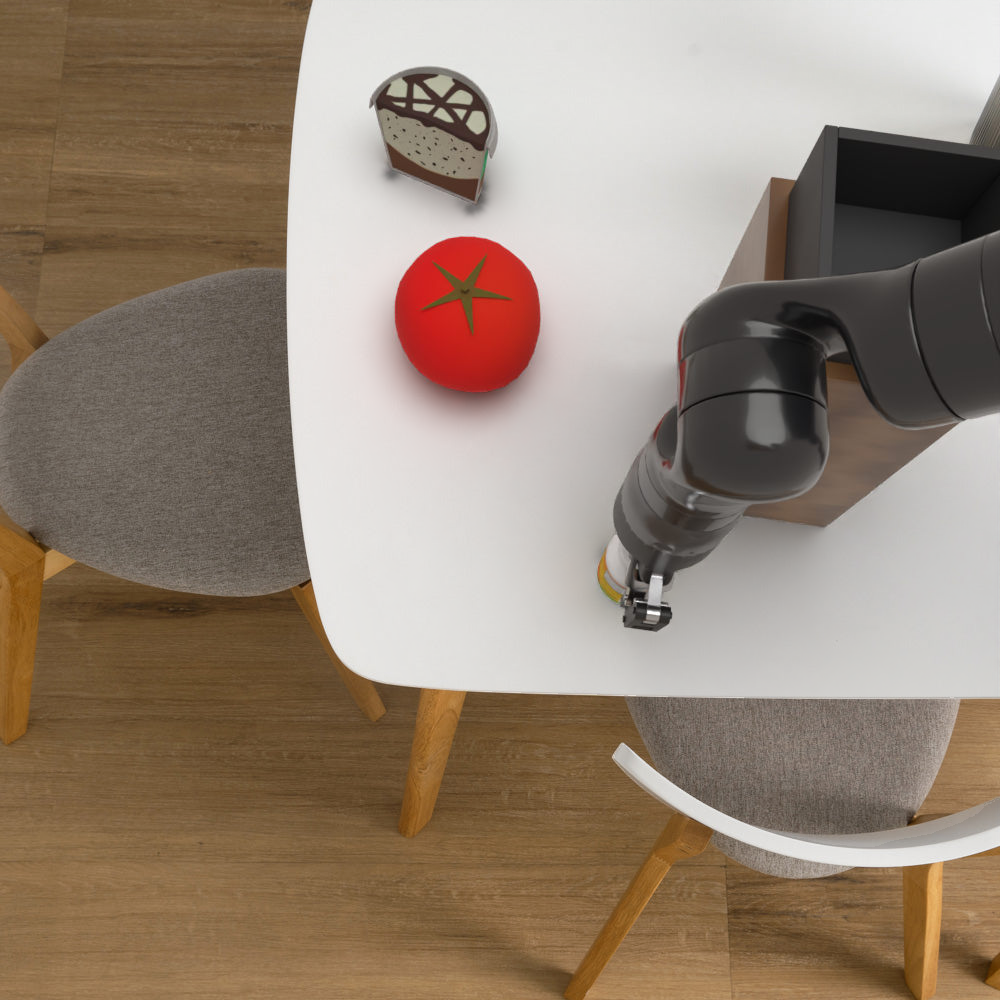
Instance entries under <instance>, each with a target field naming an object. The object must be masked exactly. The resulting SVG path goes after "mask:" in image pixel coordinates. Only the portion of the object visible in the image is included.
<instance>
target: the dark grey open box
mask: <svg viewBox="0 0 1000 1000" xmlns="http://www.w3.org/2000/svg"><path fill="white" fill-rule="evenodd" d="M795 180H796V182H795V184H794V186H793V188H792V190H791V192H790V194H789V203H788V219H787V235H786V251H785V268H784V280H789V279H803V278H815V277H823V276H831V275H840V274H849V273H857V272H866V271H874V270H881V269H887V268H892V267H896V266H900V265H903V264H906V263H909V262H911V261H914V260H916V259H919V258H924V257H925V256H928V255H930V254H933V253H936V252H939V251H942V250H944V249H947V248H950V247H953V246H956V245H959V244H961V243H964V242H967V241H970V240H973V239H976V238H978V237H981V236H984V235H987V234H991V233H993V232H995V231H998V230H1000V148H999V147H991V146H985V145H976V144H970V143H963V142H955V141H949V140H948V141H947V140H941V139H933V138H927V137H926V138H925V137H919V136H913V135H905V134H898V133H889V132H883V131H875V130H870V129H869V130H868V129H861V128H854V127H846V126H838V125H832V124H831V125H830V124H825V125H824V126H823V129H822V130H821V132H820V134H819V136H818V137H817V140H816V141H815V144H814V146H813V147H812V150H811V151H810V153H809V155H808V157H807V159H806V160H805V163H804V165H803V167H802V169H801V170H800V172H799V174H798V176H797V178H796V179H795ZM826 361H830V362H837V363H844V364H851V365H853V364H852V361H851V359H850V356H849V353H848V351H846V352H841V353H838V354H835V355H832V356H830V357H828V358H827V359H826Z"/></svg>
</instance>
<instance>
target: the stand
mask: <svg viewBox="0 0 1000 1000" xmlns="http://www.w3.org/2000/svg"><path fill="white" fill-rule="evenodd" d="M796 180H797V179H790V178H785V177H783V178H782V177H776V176H770V179H769V180H768V183H767V185H766V187H765V190H764V191H763V193H762V196H761V198H760V199H759V202H758V204H757V206H756V208H755V210H754V211H753V214H752V216H751V219H750V221H749V223H748V225H747V227H746V228H745V231H744V233H743V235H742V237H741V239H740V242H739V244H738V245H737V248H736V250H735V251H734V254H733V255H732V256H733V257H732V259H731V260H730V263H729V265H728V266H727V269H726V271H725V273H724V275H723V277H722V280H721V281H720V283H719V284H718V285H719V286H718V288H717V290H716V292H717V291H719V290H721V289H723V288H725V287H729V286H732V285H736V284H740V283H748V282H757V281H771V280H784V268H785V251H786V235H787V219H788V203H789V194H790V192H791V190H792V188H793V186H794V184H795V182H796ZM826 372H827V389H828V405H829V423H830V449H829V455H828V459H827V463H826V465H825V468H824V471H823V473H822V475H821V477H820V478H819V480H818V481H817V483H816V484H815V485H814V486H813V487H812V488H811V489H810V490H809V491H807V492H805V493H804V494H802V495H800V496H798V497H795V498H792V499H788V500H785V501H779V502H774V503H763V504H752V505H750V506H749V507H748V508H747V509H746V510H745V511H744V514H743V517H744V516H745V517H752V518H758V519H765V520H773V521H778V522H779V521H780V522H785V523H786V522H787V523H793V524H799V525H800V524H801V525H807V526H813V527H819V528H826V527H828V526H829V525H831V524H832V523H833V522H834V521H835V520H837V519H838V518H840V517H841V516H842V515H843V514H845V513H846V512H848V511H849V510H851V509H852V507H854V506H855V505H856V504H857V503H859V502H860V501H862V500H863V499H864V498H866V497H867V496H868V495H869V494H870V493H872V492H873V491H874V490H875V489H878V487H879V486H881V485H882V484H884V483H885V482H886V481H887V480H889V479H890V478H891V477H892V476H894V475H895V474H896V473H897V472H899V471H900V470H902V468H904V467H905V466H907V465H908V464H909V463H910V462H911V461H913V460H914V459H915V458H917V457H918V456H919V455H920V454H922V453H923V452H924V451H926V450H927V449H928V448H929V447H932V445H933V444H934V443H936V442H938V441H939V440H940V439H941V438H943V436H945V435H946V434H948V433H949V432H950V431H951V430H953V429H954V428H955V427H956V426H958V425H960V423H961V422H958V423H953V424H949V425H944V426H939V427H934V428H928V429H920V430H906V429H900V428H897V427H894V426H892V425H890V424H888V423H887V422H886V421H884V420H883V419H882V418H881V417H880V416H879V415H878V414H877V413H876V412H875V411H874V409H873V408H872V407H871V405H870V403H869V402H868V400H867V398H866V396H865V394H864V392H863V390H862V388H861V385H860V383H859V381H858V379H857V376H856V373H855V370H854V367H853V365H851V364H844V363H837V362H830V361H826Z"/></svg>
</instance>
